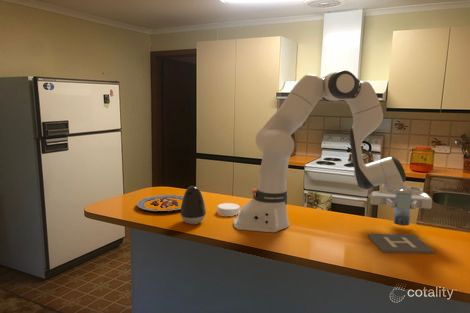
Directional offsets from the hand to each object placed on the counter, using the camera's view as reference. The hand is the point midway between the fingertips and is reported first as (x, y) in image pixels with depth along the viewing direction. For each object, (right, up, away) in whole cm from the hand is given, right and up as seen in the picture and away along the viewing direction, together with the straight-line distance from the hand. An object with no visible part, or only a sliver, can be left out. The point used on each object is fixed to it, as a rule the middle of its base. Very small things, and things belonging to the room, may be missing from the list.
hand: (403, 205), depth 125 cm
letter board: (0, -14, +3) cm, 14 cm away
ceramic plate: (-91, -7, +46) cm, 102 cm away
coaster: (-61, -9, +36) cm, 71 cm away
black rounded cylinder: (-75, -10, +24) cm, 79 cm away
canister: (0, -6, +2) cm, 7 cm away
